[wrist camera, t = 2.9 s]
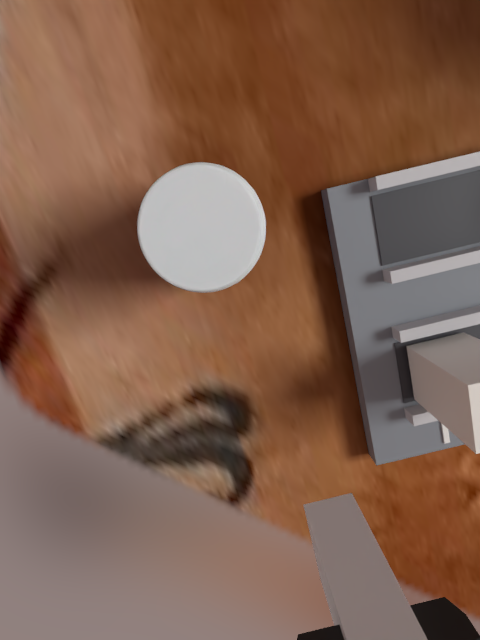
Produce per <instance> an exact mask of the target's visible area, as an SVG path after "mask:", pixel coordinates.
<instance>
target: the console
mask: <svg viewBox="0 0 480 640" xmlns="http://www.w3.org/2000/svg"><path fill="white" fill-rule="evenodd" d="M321 194H322V200H323V205H324V210H325V216H326V221H327V227H328V232H329V238H330V243H331V249H332V254H333V260H334V265H335V271H336V276H337V282H338V287H339V292H340V298H341V303H342V309H343V314H344V320H345V325H346V331H347V336H348V342H349V347H350V353H351V358H352V364H353V369H354V374H355V380H356V385H357V391H358V396H359V402H360V407H361V413H362V418H363V424H364V429H365V435H366V440H367V446H368V451H369V455H370V456H371V458H372V459H373V461H374V462H375V464H376V465H380V464H384V463H389V462H393V461H397V460H401V459H405V458H409V457H414V456H418V455H422V454H426V453H430V452H434V451H439V450H443V449H447V448H451V447H455V446H459V445H464V443H463V442H462V441H461V440H460V439H459V438H458V437H457V436H455V435H454V434H453V433H452V432H451V431H450V430H449V429H447V428H446V427H445V426H444V425H443V424H442V423H441V422H440V421H438V420H437V419H436V418H435V417H434V416H433V415H432V414H430V413H429V412H428V411H427V410H426V409H425V408H424V407H423V406H421V405H420V404H419V403H418V402H417V401H416V400H415V399H414V393H413V387H412V380H411V373H410V367H409V360H408V353H407V347H406V346H409V345H413V344H417V343H421V342H425V341H430V340H434V339H438V338H442V337H446V336H450V335H455V334H459V333H463V332H464V333H466V334H468V335H471V336H473V337H475V338H478V339H480V152H476V153H472V154H468V155H463V156H459V157H455V158H451V159H447V160H443V161H438V162H434V163H430V164H426V165H422V166H418V167H413V168H409V169H405V170H401V171H397V172H393V173H388V174H384V175H380V176H376V177H373V178H369V179H366V180H361V181H357V182H353V183H349V184H345V185H341V186H336V187H332V188H328V189H325V190H322V191H321Z"/></svg>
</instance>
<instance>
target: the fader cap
mask: <svg viewBox="0 0 480 640" xmlns="http://www.w3.org/2000/svg"><path fill="white" fill-rule="evenodd" d="M406 347H407V353H408V360H409V367H410V373H411V380H412V387H413V393H414V399H415V400H416V401H417V402H418V403H419V404H420V405H421V406H423V407H424V408H425V409H426V410H427V411H428V412H429V413H430V414H432V415H433V416H434V417H435V418H436V419H437V420H438V421H440V422H441V423H442V424H443V425H444V426H445V427H446V428H447V429H449V430H450V431H451V432H452V433H453V434H454V435H455V436H457V437H458V438H459V439H460V440H461V441H462V442H463V443H464V444H466V445H467V446H468V447H469V448H470V449H471V450H472V451H473V452H475V453H476V454H478V453H480V339H478V338H475V337H473V336H471V335H468V334H466V333H464V332H463V333H459V334H455V335H450V336H446V337H442V338H438V339H434V340H430V341H425V342H421V343H417V344H413V345H409V346H406Z"/></svg>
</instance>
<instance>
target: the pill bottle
mask: <svg viewBox="0 0 480 640" xmlns="http://www.w3.org/2000/svg"><path fill="white" fill-rule="evenodd" d="M137 233H138V240H139V244H140V247H141V250H142V253H143V255H144V256H145V258H146V260H147V262H148V263H149V265H150V266H151V267H152V269H153V270H154V271H155V272H156V273H157V274H158V275H159V276H160V277H161V278H163V279H164V280H165V281H167V282H169V283H170V284H172V285H174V286H176V287H179V288H181V289H184V290H187V291H192V292H201V293H207V292H215V291H220V290H223V289H226V288H228V287H230V286H232V285H234V284H236V283H238V282H239V281H240V280H242V279H243V278H244V277H245V276H246V275H247V274H248V273H249V272H250V271H251V270H252V268H253V267H254V266H255V264H256V262H257V261H258V259H259V257H260V255H261V252H262V249H263V246H264V242H265V236H266V220H265V215H264V211H263V208H262V204H261V202H260V200H259V198H258V196H257V194H256V192H255V191H254V189H253V188H252V187H251V186H250V185H249V184H248V182H247V181H246V180H245V179H244V178H242V177H241V176H240V175H239V174H237V173H236V172H234V171H233V170H230V169H228V168H226V167H224V166H222V165H218V164H214V163H206V162H197V163H189V164H185V165H181V166H179V167H176V168H174V169H172V170H170V171H169V172H167V173H165V174H164V175H163V176H161V177H160V178H159V179H158V180H157V181H155V182H154V184H153V185H152V186H151V187H150V188H149V190H148V191H147V193H146V195H145V196H144V198H143V201H142V203H141V206H140V209H139V214H138V220H137Z"/></svg>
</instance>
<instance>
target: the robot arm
mask: <svg viewBox="0 0 480 640" xmlns="http://www.w3.org/2000/svg"><path fill="white" fill-rule="evenodd" d="M304 509H305V513H306V518H307V522H308V526H309V531H310V535H311V539H312V544H313V548H314V552H315V557H316V561H317V566H318V570H319V574H320V579H321V582H322V585H323V589H324V592H325V595H326V598H327V602H328V605H329V609H330V612H331V615H332V619H333V622H334V625H335V626H331V627H327V628H323V629H319V630H315V631H311V632H307V633H303V634H299V635H298V638H297V640H480V636H479V634H478V632H477V631H476V630H475V628H474V626H473V625H472V623H471V622H470V620H469V619H468V617H467V616H466V614H465V613H463V612H462V611H461V610H460V609H458V608H457V607H456V606H455V605H454V604H452V603H451V602H450V601H449V600H447V599H446V598H445V597H443V598H439V599H435V600H431V601H427V602H423V603H418V604H415V605H411V606H410V605H409V603H408V601H407V599H406V597H405V595H404V593H403V591H402V589H401V587H400V585H399V583H398V581H397V579H396V578H395V576H394V574H393V572H392V570H391V568H390V566H389V564H388V562H387V560H386V558H385V556H384V554H383V552H382V550H381V549H380V547H379V545H378V543H377V541H376V539H375V537H374V535H373V533H372V531H371V529H370V527H369V525H368V523H367V522H366V520H365V518H364V516H363V514H362V512H361V510H360V508H359V506H358V504H357V502H356V500H355V498H354V496H353V494H352V493H350V494H346V495H342V496H338V497H333V498H329V499H325V500H321V501H317V502H313V503H309V504H305V505H304Z"/></svg>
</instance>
